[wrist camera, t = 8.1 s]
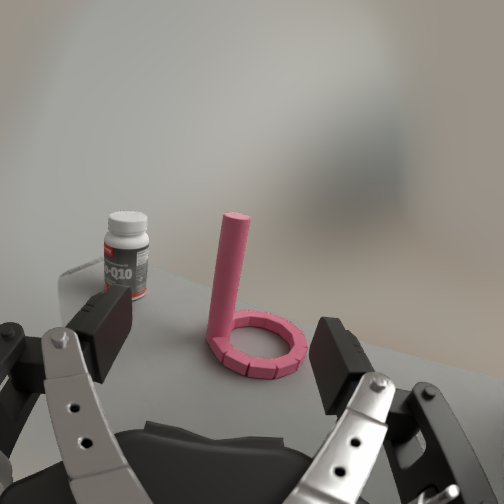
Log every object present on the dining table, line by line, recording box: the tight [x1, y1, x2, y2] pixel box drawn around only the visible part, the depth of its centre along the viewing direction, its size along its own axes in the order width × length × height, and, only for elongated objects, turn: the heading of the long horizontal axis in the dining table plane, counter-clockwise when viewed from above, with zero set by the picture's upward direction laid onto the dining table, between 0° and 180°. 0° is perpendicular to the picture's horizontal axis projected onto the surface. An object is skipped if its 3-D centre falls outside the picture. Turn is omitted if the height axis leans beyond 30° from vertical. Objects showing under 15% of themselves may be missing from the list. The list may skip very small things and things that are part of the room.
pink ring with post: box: [206, 212, 308, 379], centre depth 23 cm, size 9×8×11 cm
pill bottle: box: [104, 211, 149, 301], centre depth 27 cm, size 5×5×8 cm
